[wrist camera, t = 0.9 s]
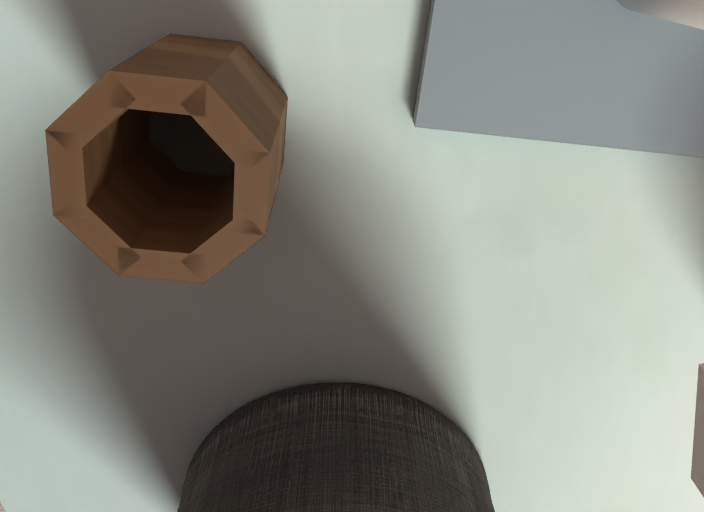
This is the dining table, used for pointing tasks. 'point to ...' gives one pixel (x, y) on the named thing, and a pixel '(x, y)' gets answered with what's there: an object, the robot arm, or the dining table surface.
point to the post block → (567, 72)
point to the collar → (158, 170)
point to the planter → (336, 456)
